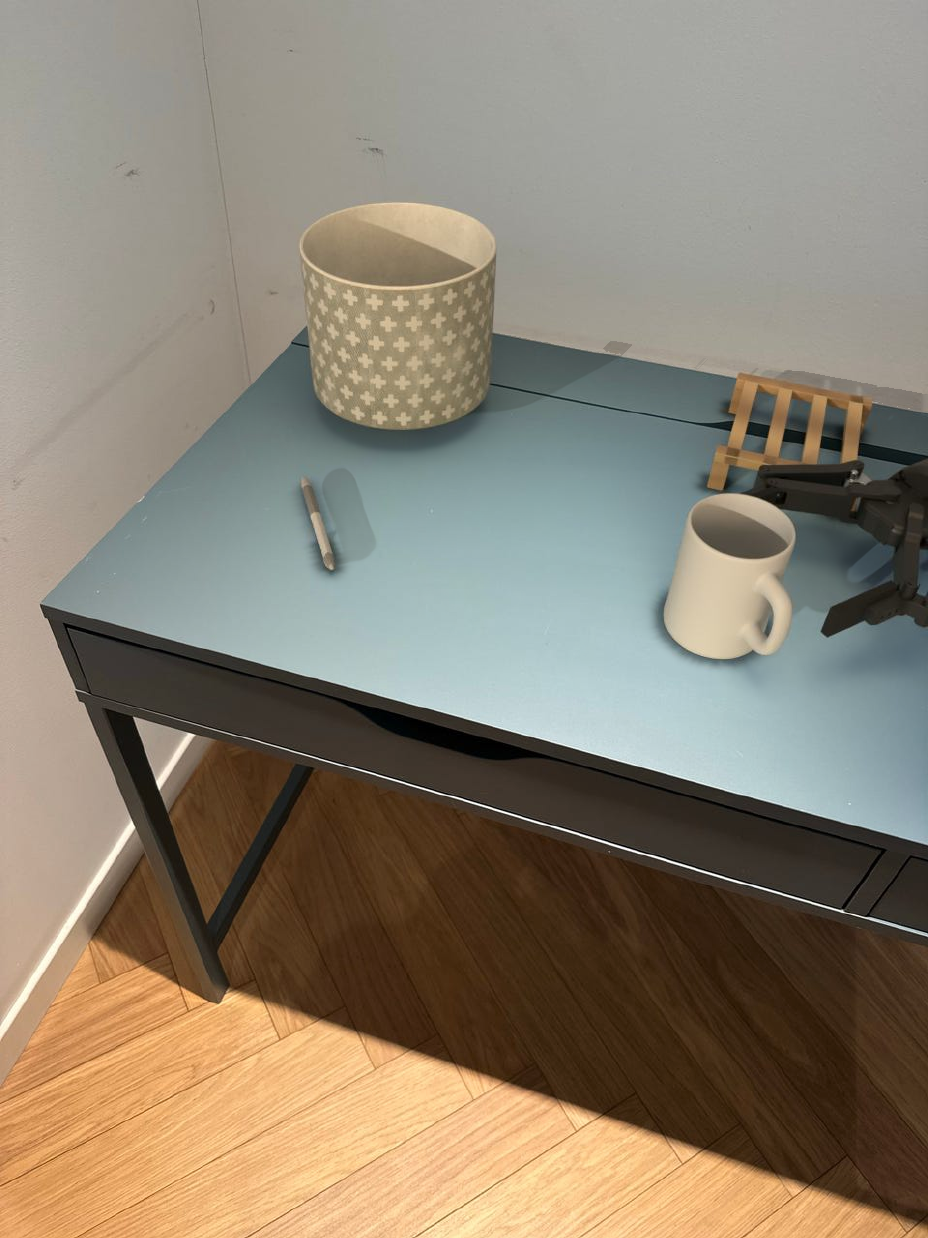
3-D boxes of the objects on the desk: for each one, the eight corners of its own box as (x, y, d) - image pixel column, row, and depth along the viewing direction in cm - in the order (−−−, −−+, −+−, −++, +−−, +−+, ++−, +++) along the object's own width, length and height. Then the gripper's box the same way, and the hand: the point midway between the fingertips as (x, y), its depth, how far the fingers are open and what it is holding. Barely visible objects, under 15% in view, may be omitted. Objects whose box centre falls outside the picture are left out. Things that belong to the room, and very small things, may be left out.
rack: (850, 519, 93) (864, 485, 90) (706, 487, 96) (715, 452, 93) (860, 431, 104) (872, 397, 101) (730, 405, 107) (738, 371, 104)
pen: (327, 577, 86) (325, 565, 85) (299, 484, 95) (297, 473, 94) (338, 575, 86) (337, 563, 85) (309, 483, 95) (308, 471, 94)
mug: (644, 603, 84) (666, 504, 76) (727, 580, 87) (756, 482, 79) (719, 702, 76) (751, 604, 69) (807, 674, 79) (849, 575, 71)
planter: (509, 441, 101) (520, 276, 88) (330, 465, 97) (314, 296, 84) (464, 350, 114) (468, 194, 101) (304, 368, 110) (287, 209, 97)
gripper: (1049, 612, 81) (867, 704, 73) (835, 456, 96) (666, 519, 88) (1093, 544, 76) (902, 636, 68) (858, 390, 91) (681, 451, 83)
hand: (768, 570), depth 78 cm, fingers open, 13 cm apart
